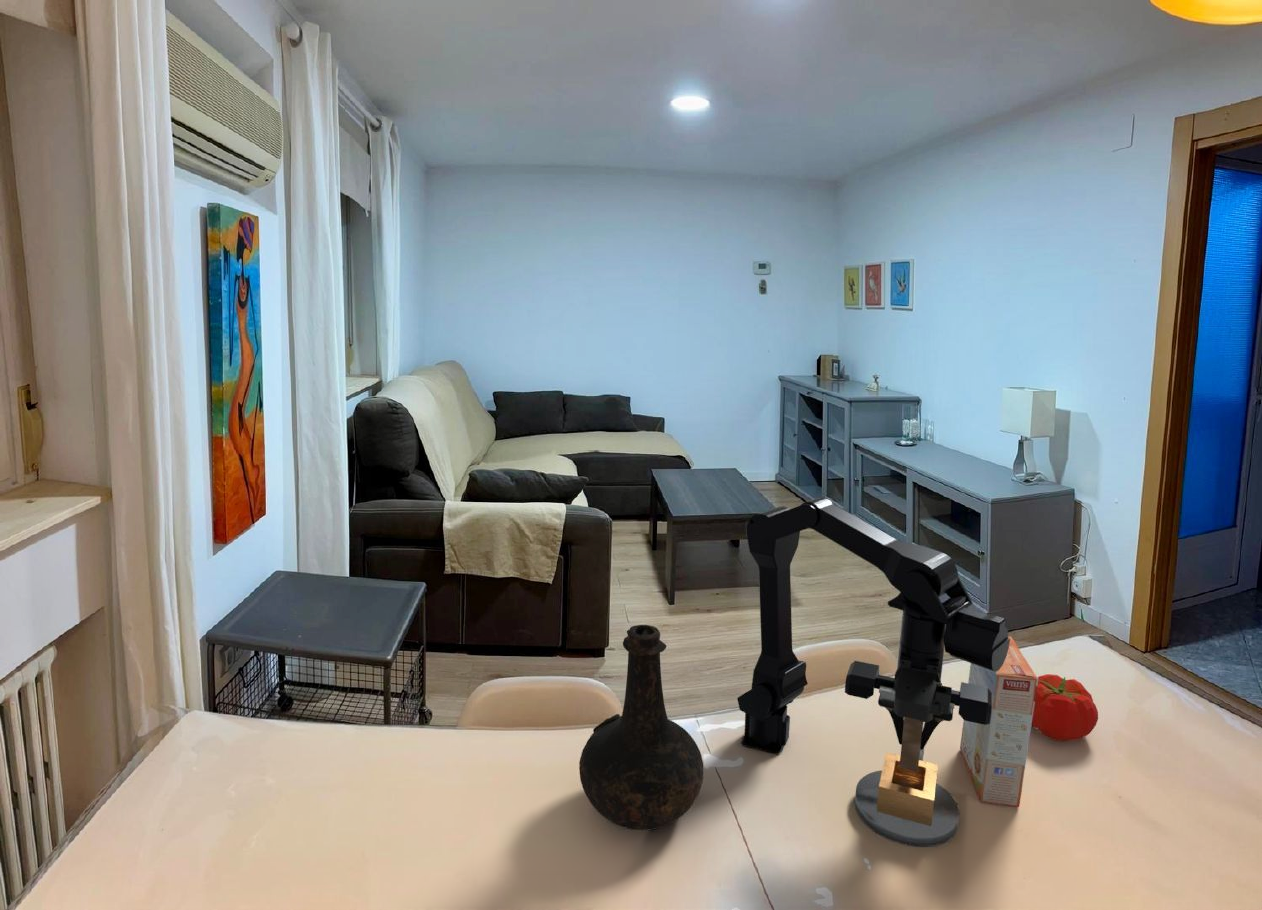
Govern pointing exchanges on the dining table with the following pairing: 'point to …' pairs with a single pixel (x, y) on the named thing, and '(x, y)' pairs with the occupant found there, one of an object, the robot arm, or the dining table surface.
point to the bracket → (907, 804)
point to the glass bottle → (641, 749)
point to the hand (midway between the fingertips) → (911, 745)
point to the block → (911, 744)
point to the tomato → (1063, 709)
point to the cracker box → (1001, 730)
